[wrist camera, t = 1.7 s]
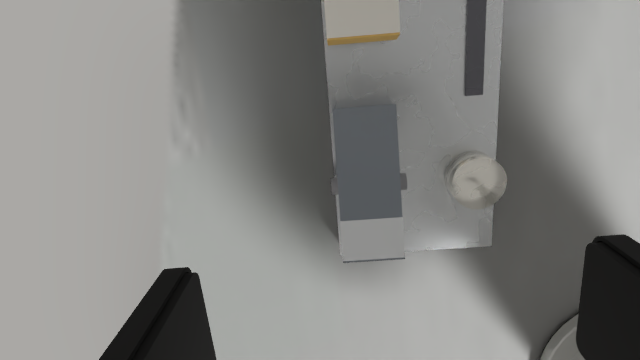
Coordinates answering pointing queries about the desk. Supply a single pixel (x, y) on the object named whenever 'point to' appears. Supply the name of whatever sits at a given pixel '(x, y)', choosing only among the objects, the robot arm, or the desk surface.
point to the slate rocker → (369, 183)
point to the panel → (434, 114)
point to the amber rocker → (361, 21)
